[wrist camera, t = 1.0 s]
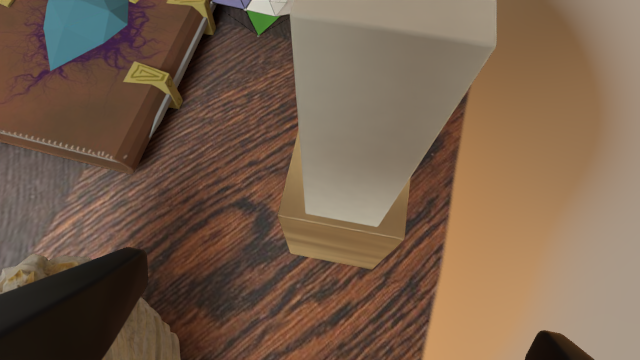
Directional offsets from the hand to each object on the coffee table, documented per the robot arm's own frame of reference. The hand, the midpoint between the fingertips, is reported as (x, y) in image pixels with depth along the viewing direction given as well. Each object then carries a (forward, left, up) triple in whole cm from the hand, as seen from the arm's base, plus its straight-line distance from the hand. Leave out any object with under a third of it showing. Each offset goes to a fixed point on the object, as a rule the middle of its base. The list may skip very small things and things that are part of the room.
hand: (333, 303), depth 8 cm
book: (+27, +8, -14) cm, 31 cm away
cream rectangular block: (+6, -4, -5) cm, 9 cm away
